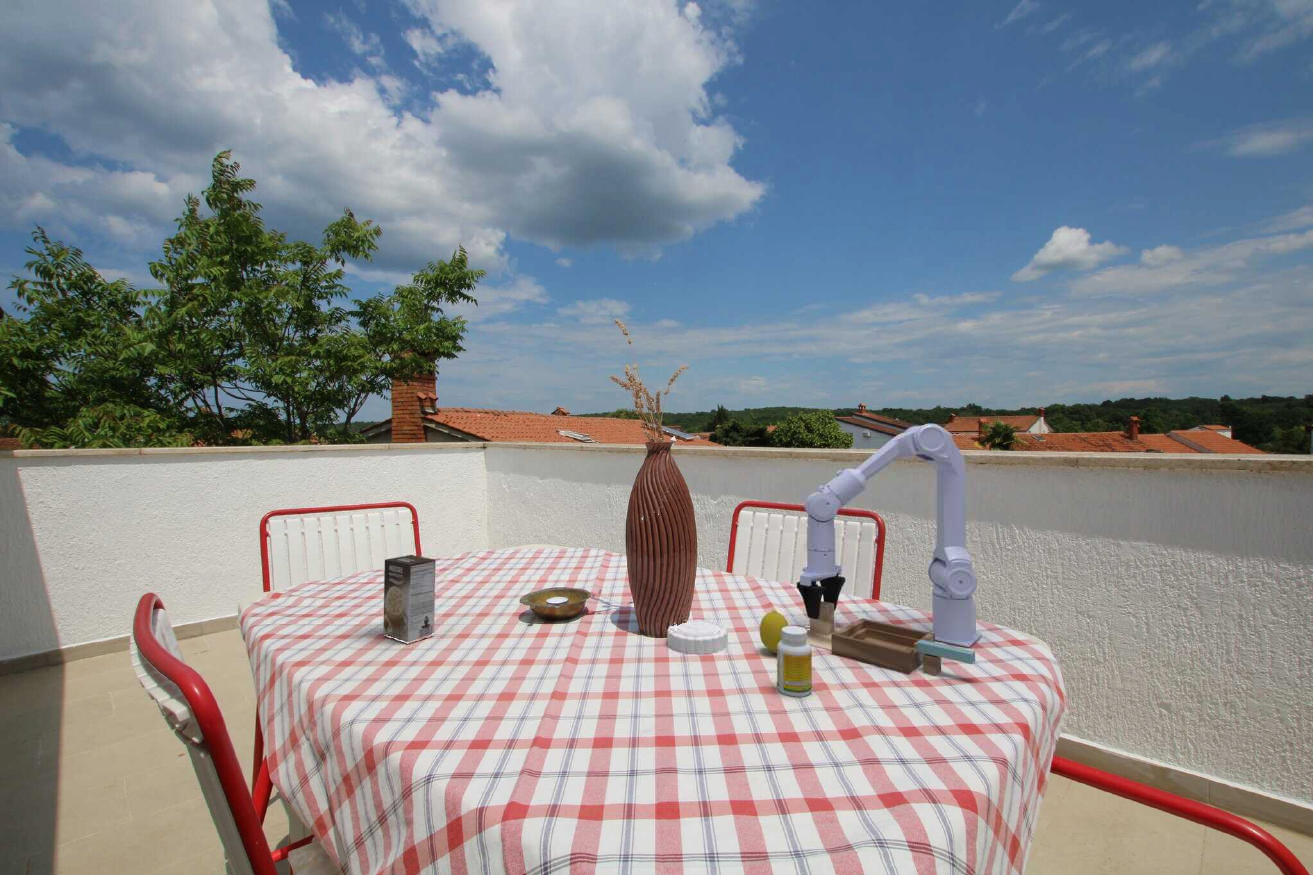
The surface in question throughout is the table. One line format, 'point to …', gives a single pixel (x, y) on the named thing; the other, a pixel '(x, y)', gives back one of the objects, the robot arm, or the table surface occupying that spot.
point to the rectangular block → (946, 651)
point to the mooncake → (697, 637)
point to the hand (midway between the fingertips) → (821, 614)
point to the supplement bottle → (794, 662)
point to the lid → (822, 627)
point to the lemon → (772, 630)
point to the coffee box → (409, 597)
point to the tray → (885, 646)
